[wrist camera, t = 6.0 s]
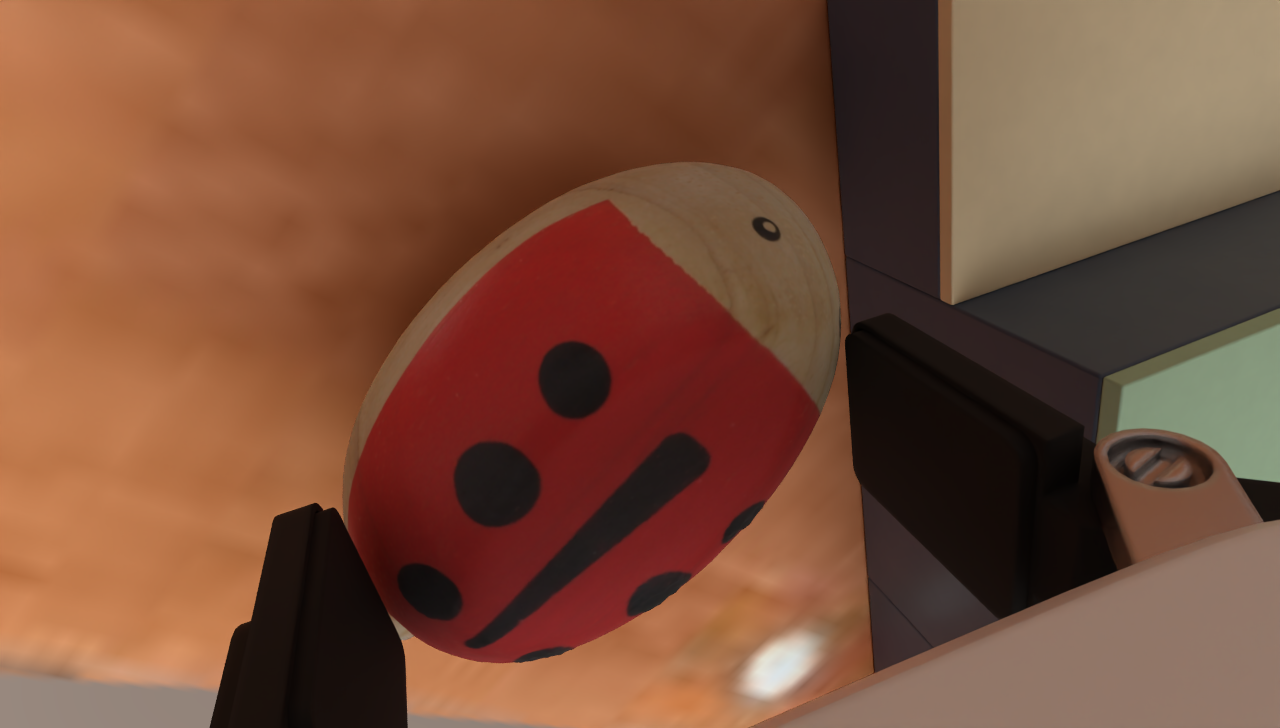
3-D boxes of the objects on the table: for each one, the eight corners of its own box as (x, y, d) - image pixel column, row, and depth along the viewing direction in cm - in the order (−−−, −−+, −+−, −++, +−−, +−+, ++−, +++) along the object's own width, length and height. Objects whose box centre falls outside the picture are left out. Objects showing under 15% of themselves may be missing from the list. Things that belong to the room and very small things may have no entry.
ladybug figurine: (869, 301, 14) (998, 381, 11) (536, 646, 16) (572, 801, 13) (635, 40, 11) (728, 54, 8) (236, 502, 12) (186, 666, 9)
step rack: (825, -5, 16) (1675, -73, 6) (1339, -129, 19) (2510, -323, 9) (875, 699, 27) (1202, 1128, 16) (1201, 547, 30) (1652, 826, 19)
